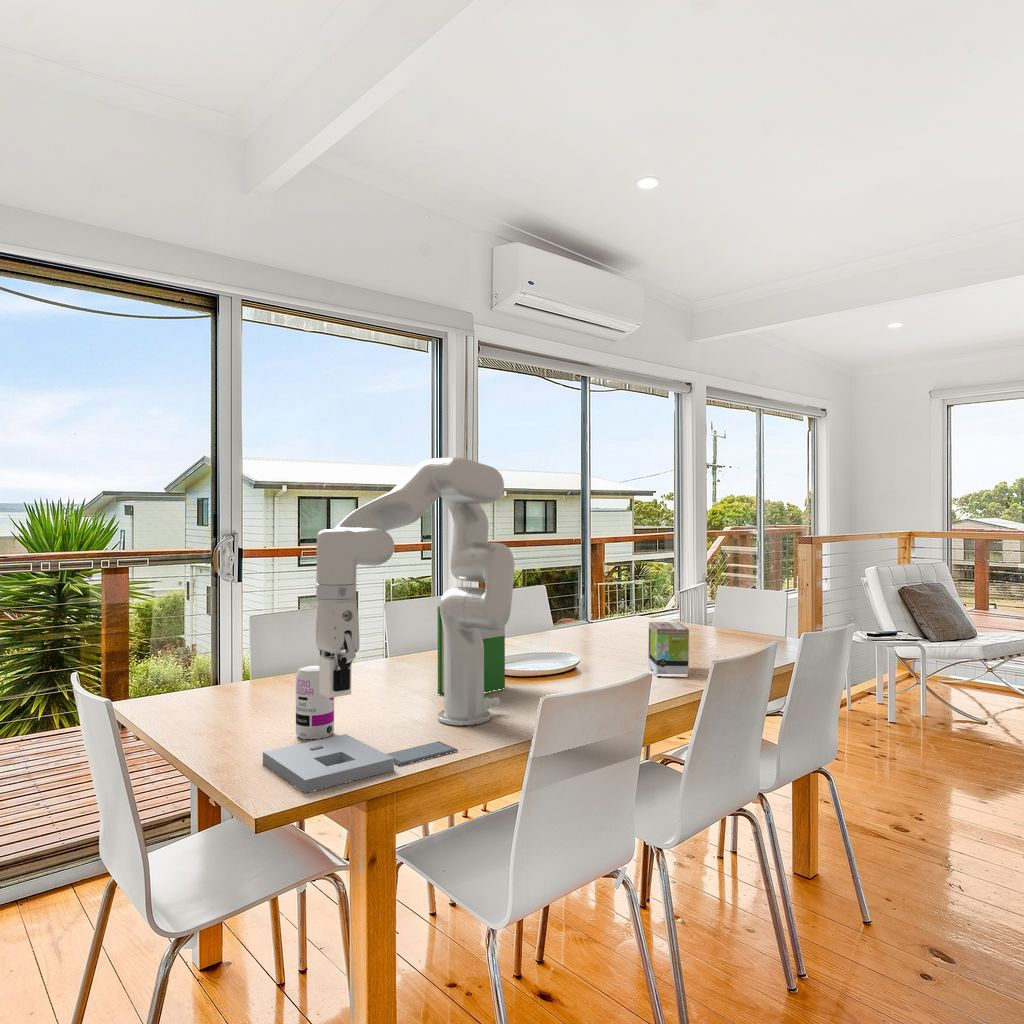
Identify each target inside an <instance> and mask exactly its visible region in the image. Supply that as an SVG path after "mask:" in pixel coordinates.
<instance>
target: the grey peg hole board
mask: <svg viewBox="0 0 1024 1024" xmlns="http://www.w3.org/2000/svg"><path fill="white" fill-rule="evenodd" d="M387 754H388V753H385V752H383V751H381V750H379V749H376V748H374V747H372V746H371V745H370V744H369V745H368V744H367V743H365V742H363V741H360V740H359V739H356V738H355V737H353V736H351V735H349V734H347V733H345V734H339V735H336V736H331V737H330V736H329V737H326V738H323V739H317V740H310V741H308V742H301V743H299V744H293V745H287V746H283V747H278V748H274V749H270V750H264V751H262V765H264V766H265V767H267V768H268V769H269V768H270V770H271V771H272V770H273V771H272V772H274V773H275V772H276V773H275V774H276V775H278V774H279V775H280V776H279V775H278V776H279V777H281V778H282V777H283V778H282V779H284V780H285V779H286V780H285V781H287V782H288V781H289V782H290V784H291V785H292V784H293V785H292V786H294V785H295V786H296V787H297V789H298V788H299V789H300V790H299V789H298V790H299V791H301V790H302V791H303V792H302V791H301V792H302V793H304V792H305V793H306V794H308V793H307V792H310V793H312V792H311V791H314V790H318V789H321V788H325V789H327V788H326V787H329V788H331V787H330V786H333V785H337V786H339V785H338V784H341V785H343V784H342V783H345V782H349V781H352V782H354V781H353V780H356V781H358V780H357V779H360V780H362V779H361V778H364V779H367V778H366V777H368V778H370V777H369V776H372V777H374V776H373V775H376V776H379V775H382V774H381V773H383V774H386V773H385V772H387V773H390V772H389V771H391V772H394V771H395V764H394V758H393V757H391V756H389V755H387ZM393 770H394V771H393ZM378 774H379V775H378ZM289 782H288V783H289ZM349 783H350V782H349ZM345 784H346V783H345ZM295 786H294V787H295ZM296 787H295V788H296ZM333 787H334V786H333ZM321 790H322V789H321ZM318 791H319V790H318ZM314 792H315V791H314ZM305 793H304V794H305Z"/></svg>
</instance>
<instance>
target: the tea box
mask: <svg viewBox="0 0 1024 1024" xmlns="http://www.w3.org/2000/svg"><path fill="white" fill-rule="evenodd" d="M689 651H690V629H689V628H688V627H686V626H685V625H683V624H682V623H680V622H676V621H649V622H648V659H647V660H648V667H649V666H650V667H651V669H652V670H653V671H654V672H655V673H656V675H657V674H688V675H689V659H690V658H689ZM651 669H650V670H651ZM652 670H651V671H652ZM653 671H652V672H653ZM656 675H655V676H656Z"/></svg>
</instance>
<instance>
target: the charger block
mask: <svg viewBox="0 0 1024 1024" xmlns="http://www.w3.org/2000/svg"><path fill="white" fill-rule="evenodd" d="M342 657H345V656H340V661H341V659H342ZM318 661H319V664H318V665H319V694H322V695H324V696H326V697H329V698H332V697H334V698H337V697H343V696H350V695H352V668H351V669H350V689H349V690H343V691H337V692H336V691H334V690H333V670H336V668H335V658H334V655H333V656H325V657H321V656H319V660H318Z"/></svg>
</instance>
